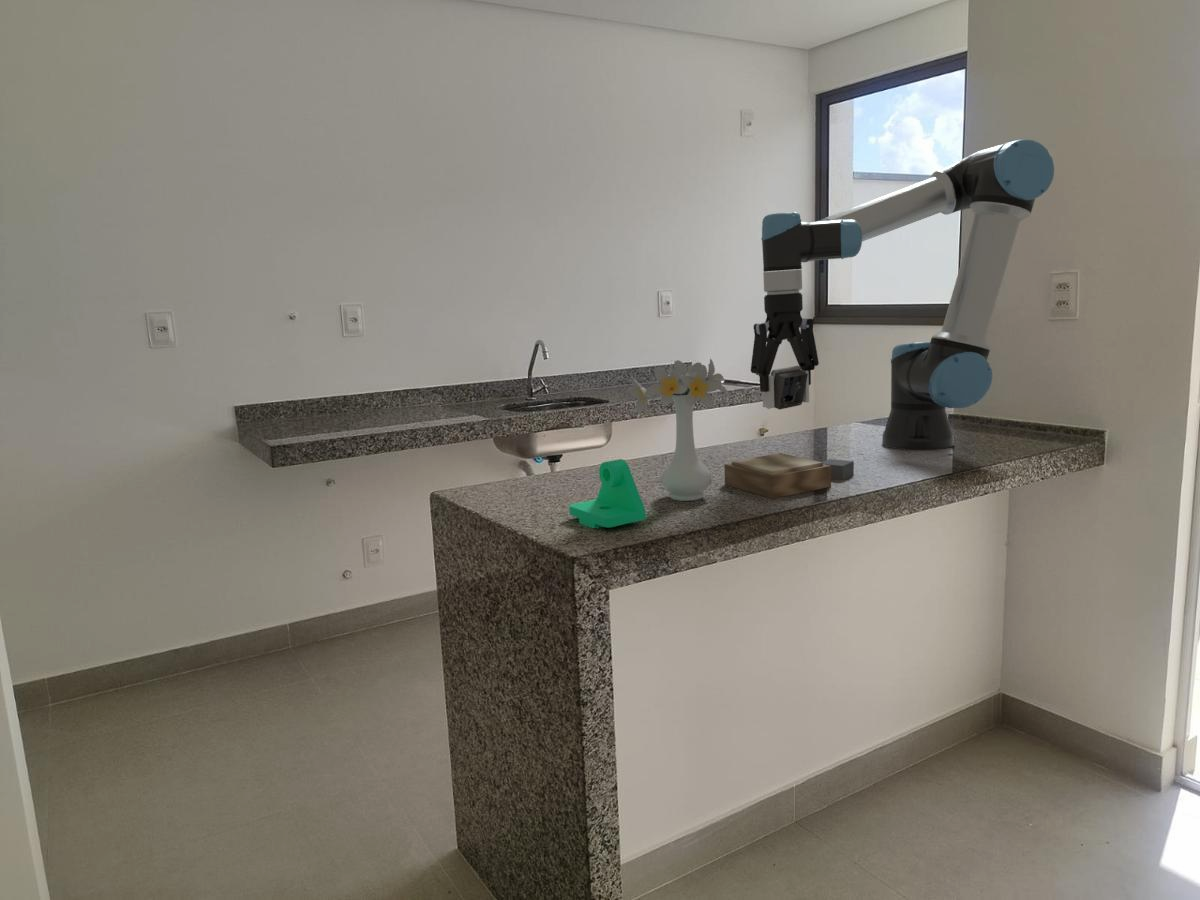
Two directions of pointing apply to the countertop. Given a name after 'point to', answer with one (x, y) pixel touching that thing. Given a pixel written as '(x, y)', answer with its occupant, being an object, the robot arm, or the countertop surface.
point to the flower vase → (683, 423)
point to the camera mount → (612, 499)
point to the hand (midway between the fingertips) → (786, 404)
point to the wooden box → (777, 475)
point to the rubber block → (840, 468)
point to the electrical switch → (788, 387)
